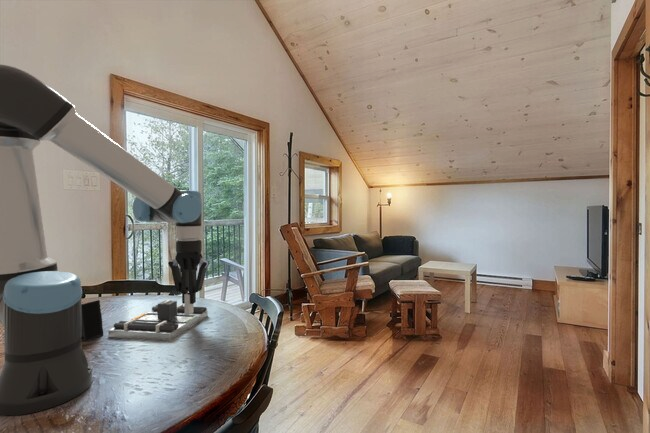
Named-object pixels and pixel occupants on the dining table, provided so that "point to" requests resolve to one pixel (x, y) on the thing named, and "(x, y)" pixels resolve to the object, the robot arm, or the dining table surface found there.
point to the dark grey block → (167, 310)
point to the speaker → (91, 320)
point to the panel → (152, 316)
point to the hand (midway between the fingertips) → (188, 313)
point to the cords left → (146, 325)
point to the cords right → (181, 309)
